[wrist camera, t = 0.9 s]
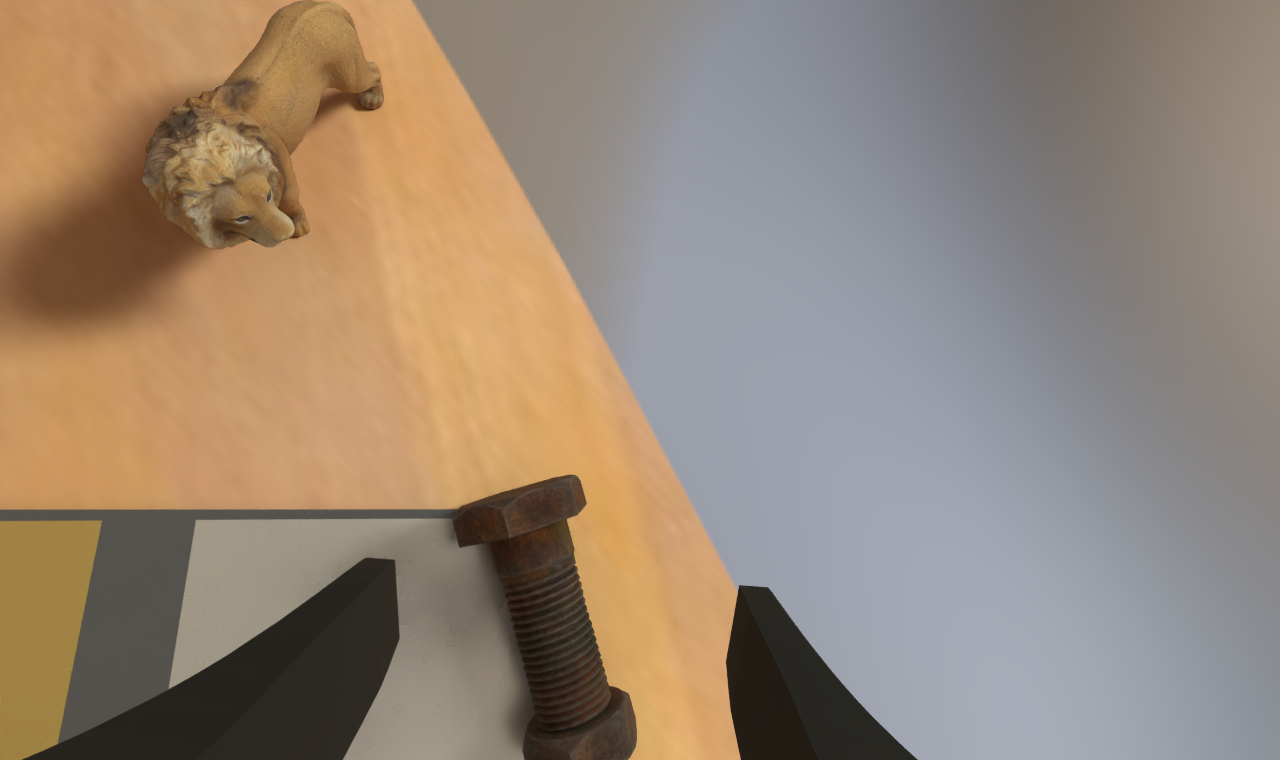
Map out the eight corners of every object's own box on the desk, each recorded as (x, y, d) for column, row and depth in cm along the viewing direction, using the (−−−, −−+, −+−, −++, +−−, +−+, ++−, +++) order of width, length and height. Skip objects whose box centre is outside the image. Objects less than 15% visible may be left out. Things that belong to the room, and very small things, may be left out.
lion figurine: (308, 320, 27) (268, 231, 19) (174, 285, 26) (68, 172, 18) (399, 68, 32) (397, -91, 24) (289, 25, 30) (247, -162, 22)
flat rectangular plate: (535, 816, 26) (536, 819, 26) (-496, 1002, 16) (-512, 1010, 16) (543, 509, 29) (544, 509, 29) (-317, 510, 19) (-328, 510, 19)
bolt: (563, 812, 28) (481, 496, 29) (667, 783, 28) (582, 468, 29) (537, 916, 22) (436, 517, 23) (670, 880, 22) (562, 481, 23)
